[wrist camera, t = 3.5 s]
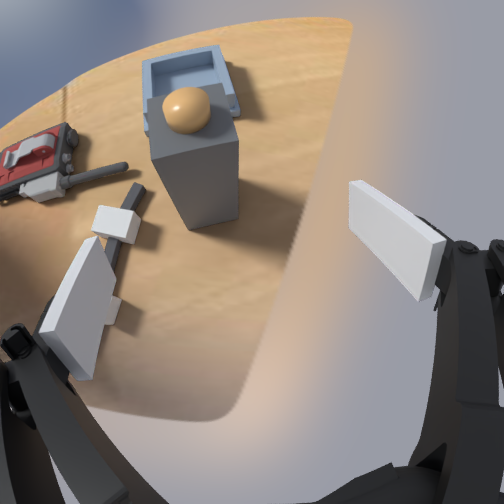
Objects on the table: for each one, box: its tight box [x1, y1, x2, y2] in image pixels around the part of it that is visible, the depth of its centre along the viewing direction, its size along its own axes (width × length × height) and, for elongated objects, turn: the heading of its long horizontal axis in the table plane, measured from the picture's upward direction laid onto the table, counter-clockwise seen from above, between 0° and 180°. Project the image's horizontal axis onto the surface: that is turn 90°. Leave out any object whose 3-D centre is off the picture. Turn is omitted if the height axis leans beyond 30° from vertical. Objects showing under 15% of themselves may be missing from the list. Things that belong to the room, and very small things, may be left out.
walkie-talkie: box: [0, 122, 129, 203], centre depth 24 cm, size 9×4×20 cm
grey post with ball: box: [147, 83, 239, 230], centre depth 19 cm, size 4×4×13 cm
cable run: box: [91, 182, 146, 325], centre depth 23 cm, size 4×16×2 cm, turn 168°
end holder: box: [142, 45, 241, 137], centre depth 27 cm, size 10×10×3 cm
